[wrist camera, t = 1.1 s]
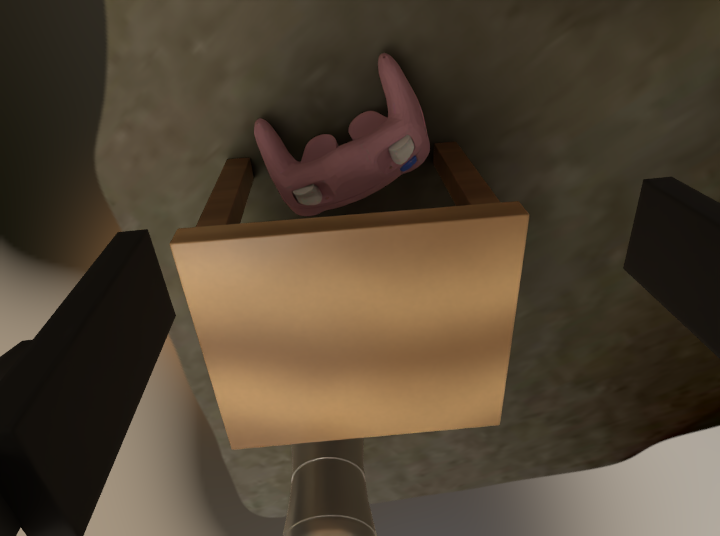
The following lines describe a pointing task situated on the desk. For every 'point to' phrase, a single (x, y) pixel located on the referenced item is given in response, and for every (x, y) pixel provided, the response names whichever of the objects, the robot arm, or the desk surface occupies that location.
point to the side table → (355, 312)
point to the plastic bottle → (329, 490)
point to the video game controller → (351, 151)
